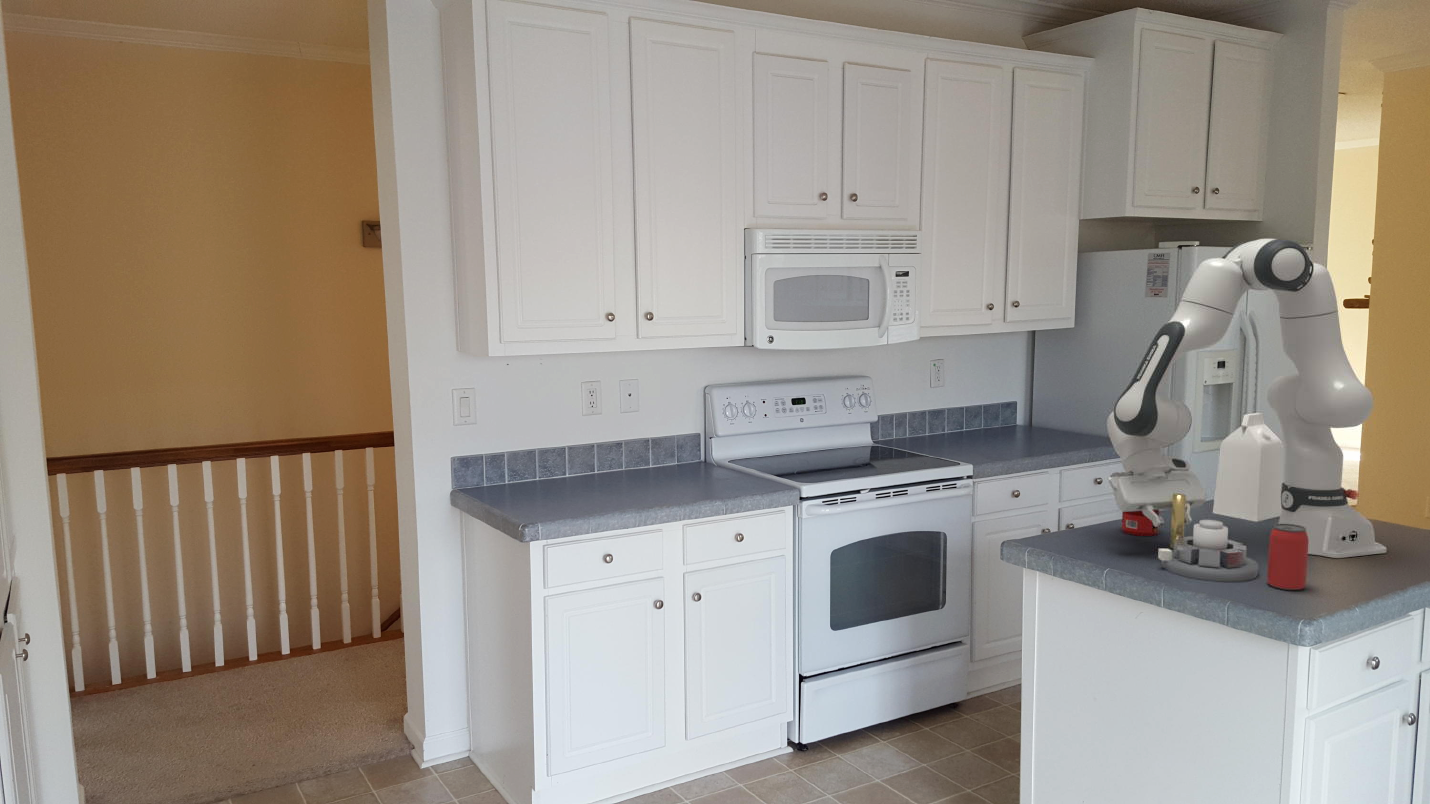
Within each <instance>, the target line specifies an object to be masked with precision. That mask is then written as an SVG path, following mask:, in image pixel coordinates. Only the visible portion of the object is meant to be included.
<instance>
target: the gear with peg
mask: <svg viewBox="0 0 1430 804" xmlns="http://www.w3.org/2000/svg"><path fill="white" fill-rule="evenodd" d="M1185 506H1186V495H1185V494H1173V500H1172V509H1171V523H1170V524H1171V525H1170V544H1169V546H1170V548H1171V549H1172V550H1173V549H1174V557H1177V559H1178V560H1181V561H1184V562H1187V563H1190V564H1193V563H1199V566H1208V567H1218V568H1219V566H1220V565H1221V566H1224V567H1227V568H1230V567H1238V566H1242V565H1243V564H1246V557H1247V545H1243V543H1242V542H1238V541H1234V540H1231V539H1227V549H1226V550H1212V549H1202V548H1198V547H1194V546H1193V535H1189V536H1185V527H1186V525H1185ZM1170 548H1169V549H1170Z"/></svg>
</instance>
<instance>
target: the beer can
mask: <svg viewBox="0 0 1430 804" xmlns="http://www.w3.org/2000/svg"><path fill="white" fill-rule="evenodd" d="M1308 542H1309V540H1308V535H1307V533H1306V528H1305V527H1303V526H1300V525H1295V524H1278V523H1276V524H1274V525H1273V529H1272V530H1271V532H1270V534H1269V544H1268V545H1269V546H1268V561H1267V563H1268V564H1267V575H1266V576H1267V579H1266V581H1267V584H1269V585H1270V586H1271V587H1273V588H1276V589H1279V590H1282V591H1283V590H1285V591H1300V590H1303V589H1305V587H1306V585H1307V569H1308V558H1309V557H1308V556H1309V554H1308Z"/></svg>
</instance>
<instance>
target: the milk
mask: <svg viewBox="0 0 1430 804" xmlns="http://www.w3.org/2000/svg"><path fill="white" fill-rule="evenodd" d="M1242 418H1243V420H1242V423H1241V426H1240V427H1238V428H1237V429H1235V430H1234V431H1233V432H1231V433H1230V434H1229V435H1228V436H1227V437H1225V438H1224V439H1223V440H1222V442H1221V443H1220V446H1219V447H1220V448H1219V457H1218V466H1217V473H1216V481H1215V482H1216V483H1215V488H1214V489H1215V490H1214V491H1215V492H1214V497H1213V499H1214V500H1213V508H1212V514H1216V515H1221V516H1226V517H1230V518H1236V519H1242V520H1245V521H1251V522H1255V523H1257V522H1262V521H1265V520H1269V519H1274V518H1278V517H1279V518H1280V514H1281V508H1282V506H1281V488H1282V483H1283V482H1284V444H1283V442H1282V441H1281V439H1280V438H1279V436H1277V435H1276V434H1275V432H1273V431H1272V430H1271V429H1270V427H1268V426H1267V425H1266V424H1265V420H1264V416H1263V413H1261V412H1256V413H1255V412H1254V413H1248V414H1244V415H1243V417H1242Z"/></svg>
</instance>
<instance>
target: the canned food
mask: <svg viewBox="0 0 1430 804" xmlns="http://www.w3.org/2000/svg"><path fill="white" fill-rule="evenodd" d="M1153 511H1154V512H1155V513H1156V514H1157V515H1158V516H1160V510H1153ZM1121 516H1122V520H1121V529H1122V532H1124V533H1125V534H1128V535H1132V536H1139V537H1152V536H1156V535H1157V534H1158V531H1159V527H1155V526H1154V524H1153V522H1152V520H1150V519H1149V518H1147V517H1146V516H1145V515H1144V514H1143V512H1142V511H1129V512H1123V511H1122V515H1121Z"/></svg>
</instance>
